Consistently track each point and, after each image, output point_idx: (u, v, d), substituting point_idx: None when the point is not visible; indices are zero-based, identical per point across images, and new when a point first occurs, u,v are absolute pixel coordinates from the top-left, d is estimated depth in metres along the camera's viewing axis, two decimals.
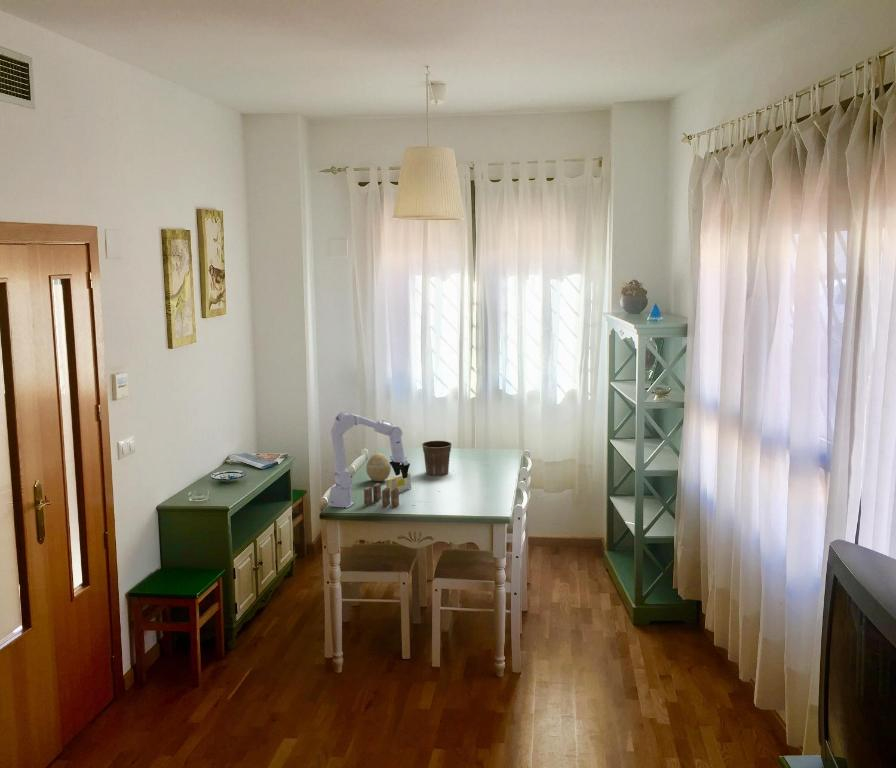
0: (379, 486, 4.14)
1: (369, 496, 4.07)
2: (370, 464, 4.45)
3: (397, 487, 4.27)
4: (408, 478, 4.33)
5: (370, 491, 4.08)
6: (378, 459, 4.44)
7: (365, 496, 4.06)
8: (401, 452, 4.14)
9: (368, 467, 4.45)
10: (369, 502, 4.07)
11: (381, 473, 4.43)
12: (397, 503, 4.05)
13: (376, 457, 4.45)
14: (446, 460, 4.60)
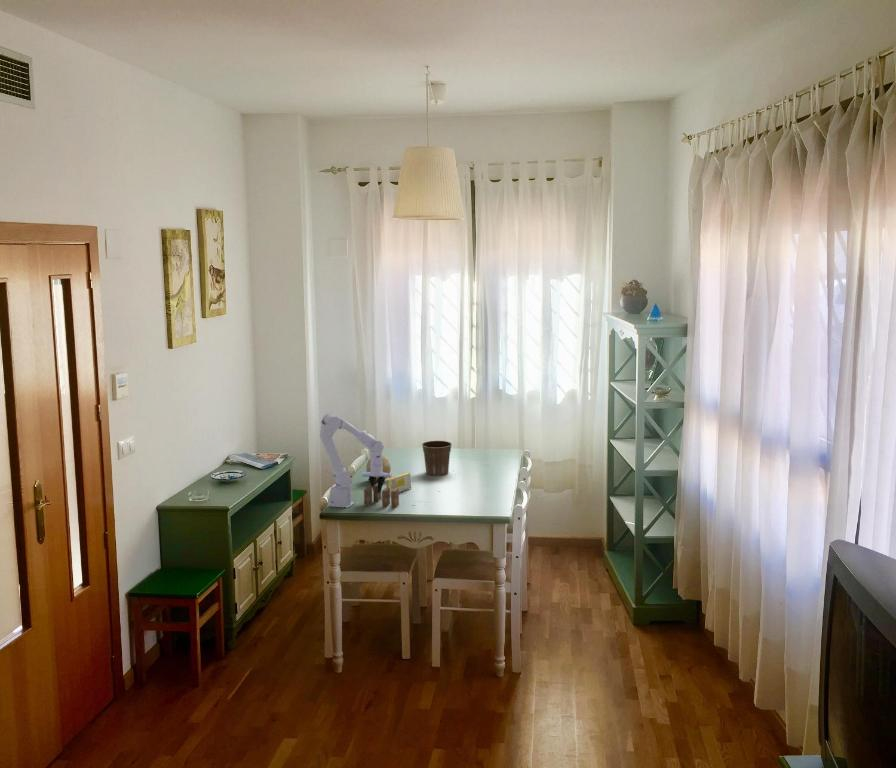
0: None
1: (369, 496, 4.07)
2: None
3: (397, 487, 4.27)
4: (408, 478, 4.33)
5: (370, 491, 4.08)
6: None
7: (365, 496, 4.06)
8: None
9: (368, 467, 4.45)
10: (369, 502, 4.07)
11: None
12: (397, 503, 4.05)
13: None
14: (446, 460, 4.60)
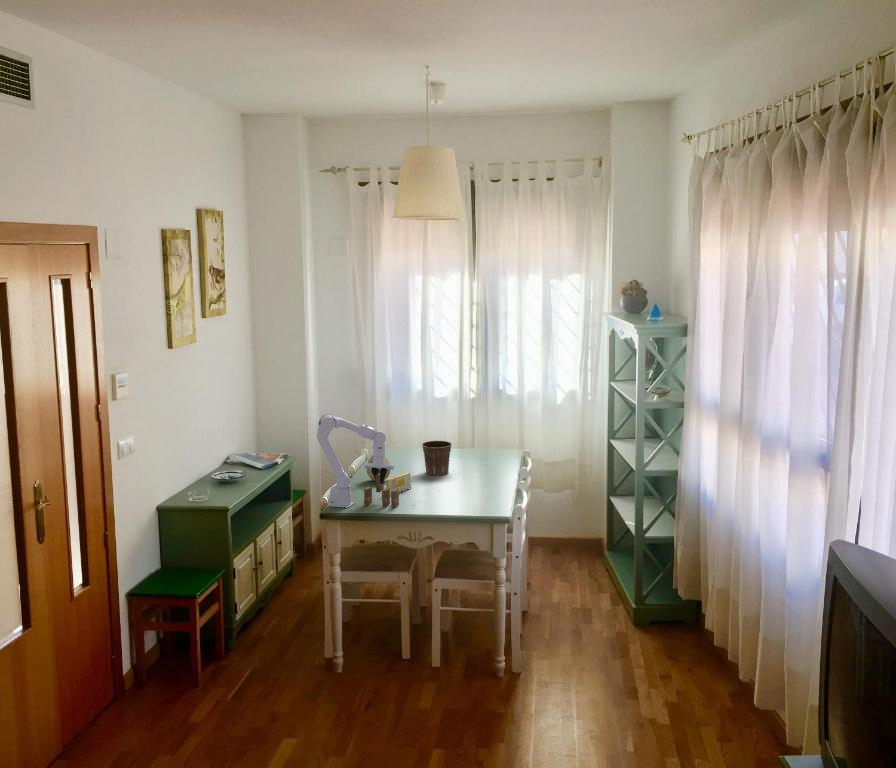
0: None
1: (369, 496, 4.07)
2: None
3: (397, 487, 4.27)
4: (408, 478, 4.33)
5: (370, 491, 4.08)
6: None
7: (365, 496, 4.06)
8: None
9: None
10: (369, 502, 4.07)
11: None
12: (397, 503, 4.05)
13: None
14: (446, 460, 4.60)
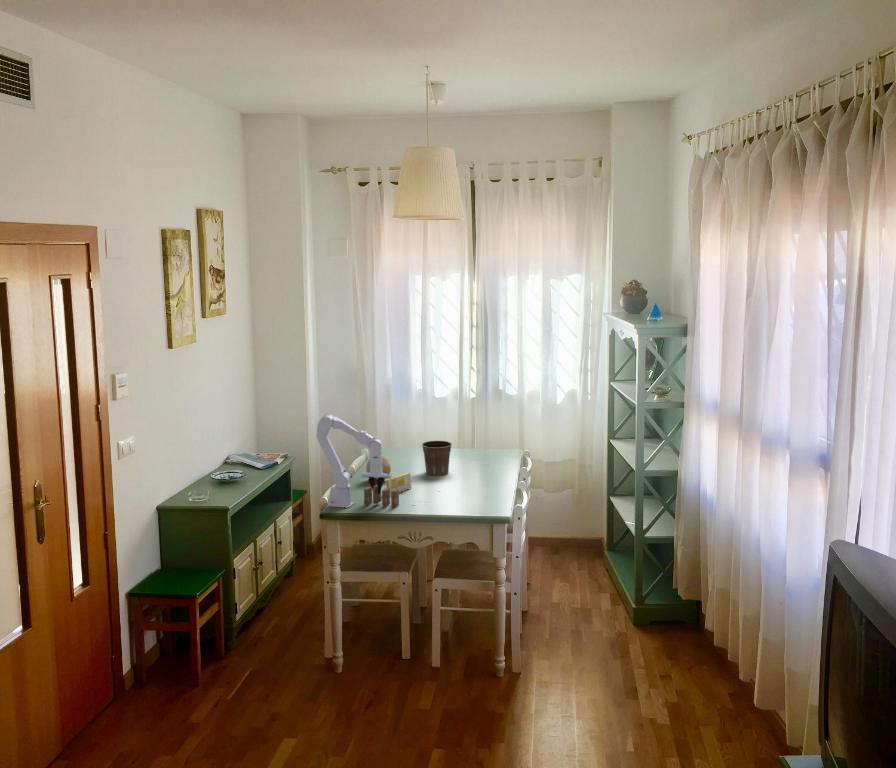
0: None
1: (369, 496, 4.07)
2: None
3: (397, 487, 4.27)
4: (408, 478, 4.33)
5: (370, 491, 4.08)
6: None
7: (365, 496, 4.06)
8: None
9: (368, 467, 4.45)
10: (369, 502, 4.07)
11: None
12: (397, 503, 4.05)
13: None
14: (446, 460, 4.60)
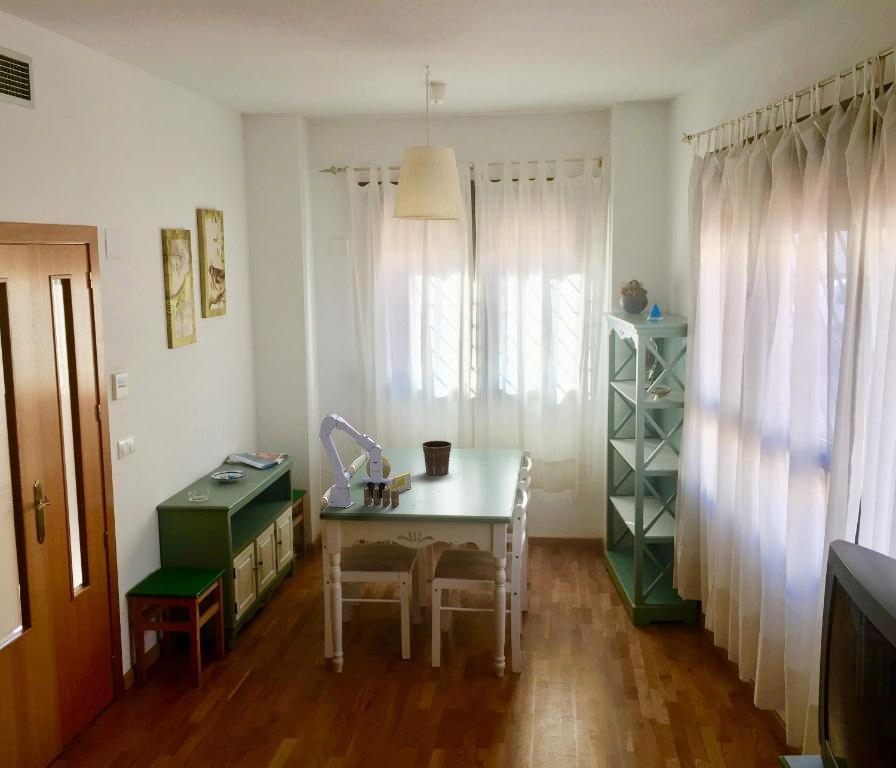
0: None
1: (369, 496, 4.07)
2: None
3: (397, 487, 4.27)
4: (408, 478, 4.33)
5: None
6: None
7: (365, 496, 4.06)
8: None
9: (368, 467, 4.45)
10: (369, 502, 4.07)
11: None
12: (397, 503, 4.05)
13: None
14: (446, 460, 4.60)
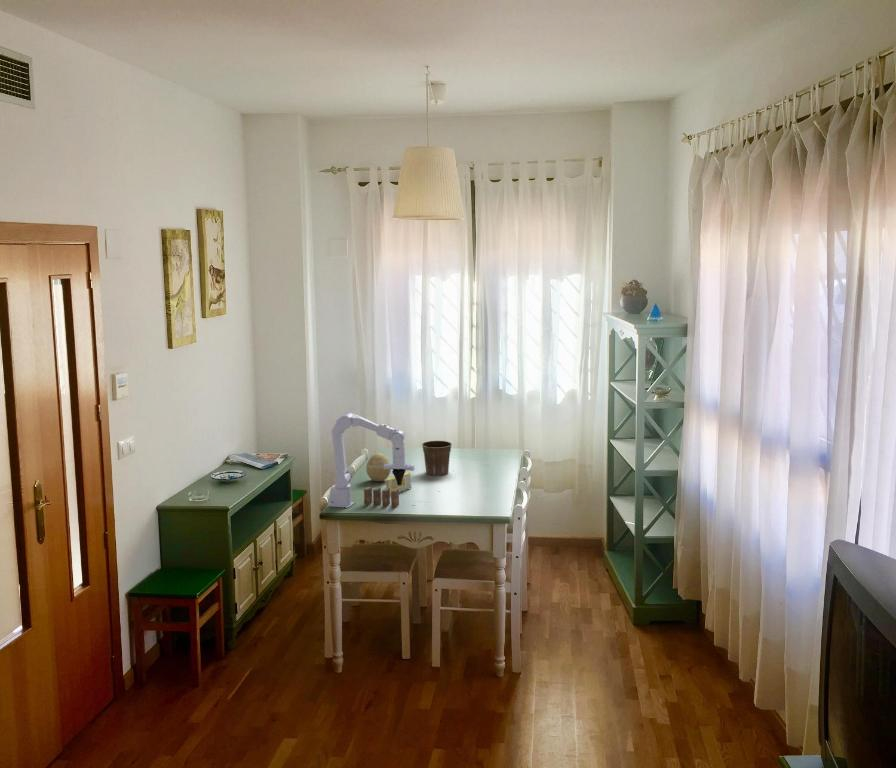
0: (379, 490, 4.07)
1: (369, 496, 4.07)
2: (370, 464, 4.45)
3: (397, 487, 4.27)
4: (408, 478, 4.33)
5: (370, 491, 4.08)
6: (378, 459, 4.44)
7: (365, 496, 4.06)
8: (404, 458, 4.01)
9: (368, 467, 4.45)
10: (369, 502, 4.07)
11: (381, 473, 4.43)
12: (397, 503, 4.05)
13: (376, 457, 4.45)
14: (446, 460, 4.60)
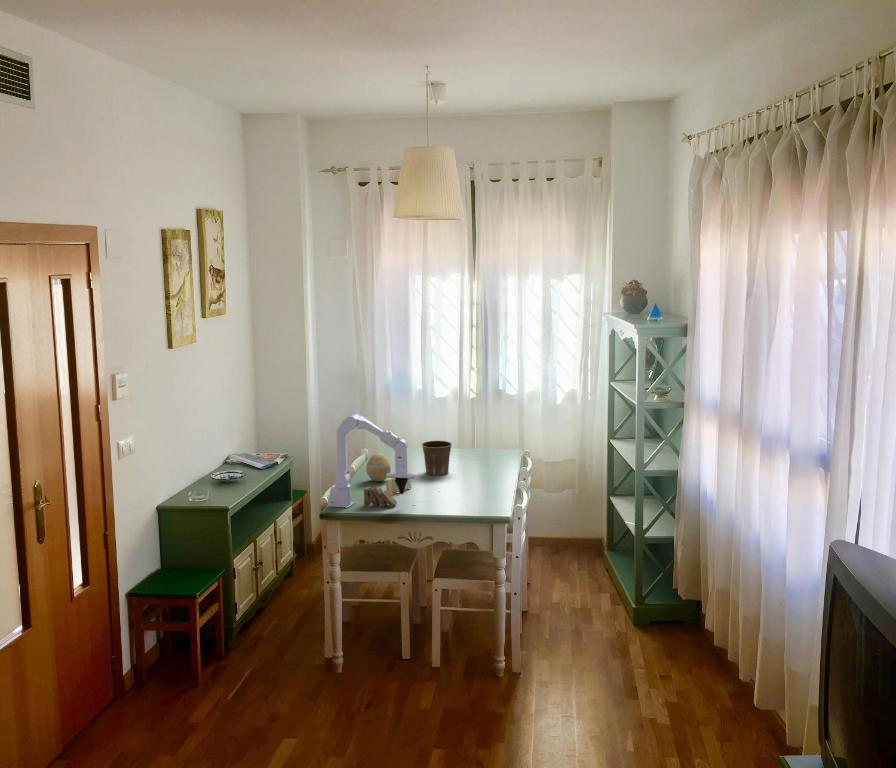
0: (375, 489, 4.07)
1: (369, 496, 4.07)
2: (370, 464, 4.45)
3: (397, 487, 4.27)
4: None
5: None
6: (378, 459, 4.44)
7: (365, 496, 4.06)
8: None
9: (368, 467, 4.45)
10: (369, 502, 4.07)
11: (381, 473, 4.43)
12: (395, 501, 4.06)
13: (376, 457, 4.45)
14: (446, 460, 4.60)
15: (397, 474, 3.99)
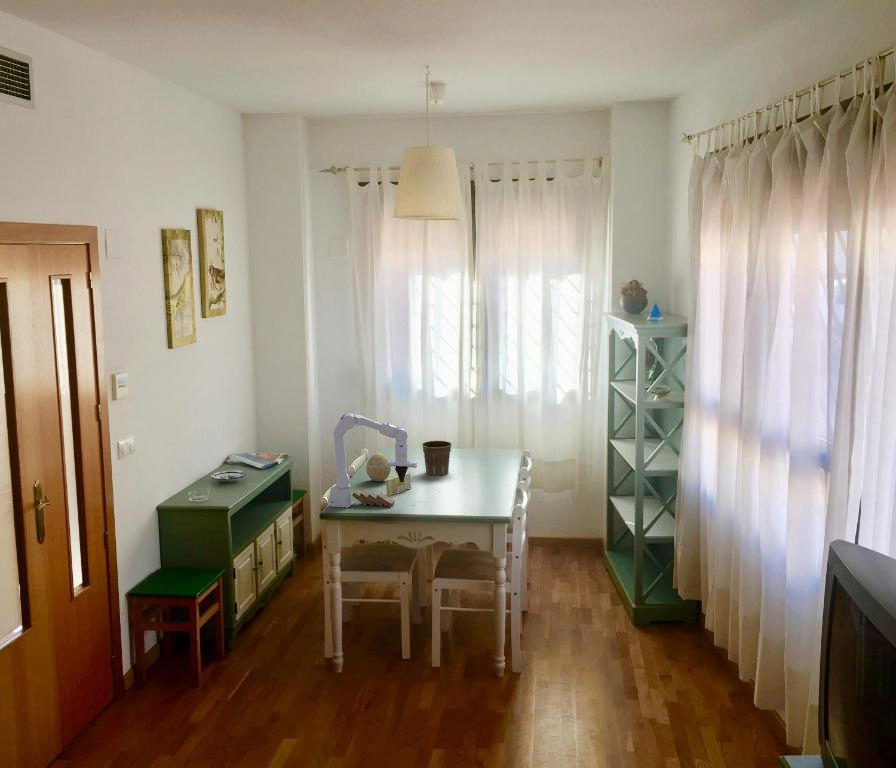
0: (365, 492, 4.09)
1: None
2: (370, 464, 4.45)
3: (397, 487, 4.27)
4: (408, 478, 4.33)
5: (359, 492, 4.10)
6: (378, 459, 4.44)
7: (358, 498, 4.07)
8: None
9: (368, 467, 4.45)
10: None
11: (381, 473, 4.44)
12: (392, 500, 4.06)
13: (376, 457, 4.45)
14: (446, 460, 4.60)
15: (397, 462, 4.05)
